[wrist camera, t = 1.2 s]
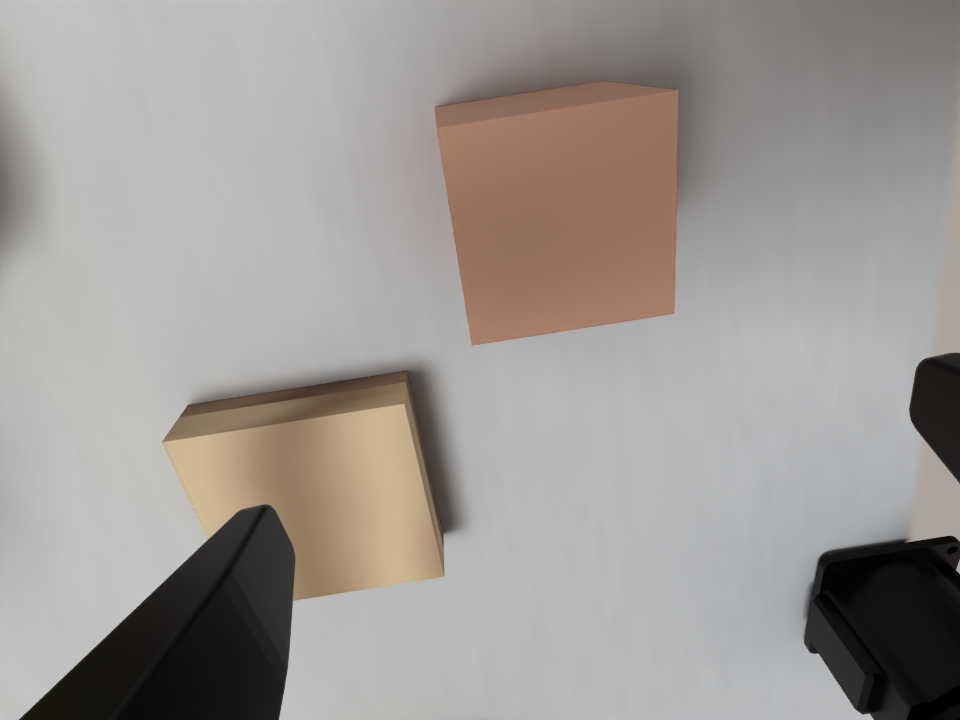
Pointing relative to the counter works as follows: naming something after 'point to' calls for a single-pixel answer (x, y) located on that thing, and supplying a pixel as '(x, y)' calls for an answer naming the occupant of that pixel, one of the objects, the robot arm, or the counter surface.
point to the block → (563, 206)
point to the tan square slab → (320, 483)
